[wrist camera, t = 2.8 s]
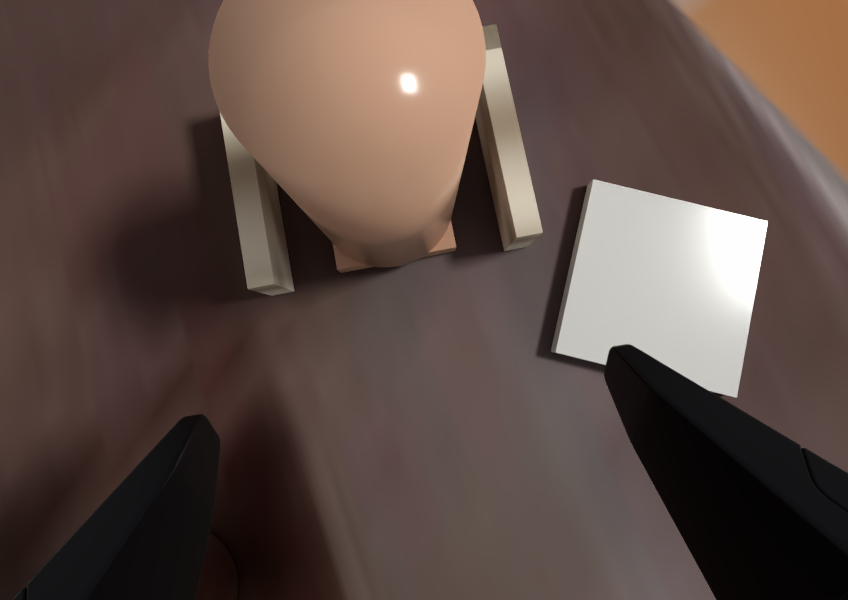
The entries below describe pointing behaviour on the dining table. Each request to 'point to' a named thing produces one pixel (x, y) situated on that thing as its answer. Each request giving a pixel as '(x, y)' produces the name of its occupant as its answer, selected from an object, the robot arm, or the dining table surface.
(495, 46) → the frame
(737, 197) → the dining table surface
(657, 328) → the tile
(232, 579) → the beer glass
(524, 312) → the dining table surface
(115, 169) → the dining table surface
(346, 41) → the peach tapered rounded piece
